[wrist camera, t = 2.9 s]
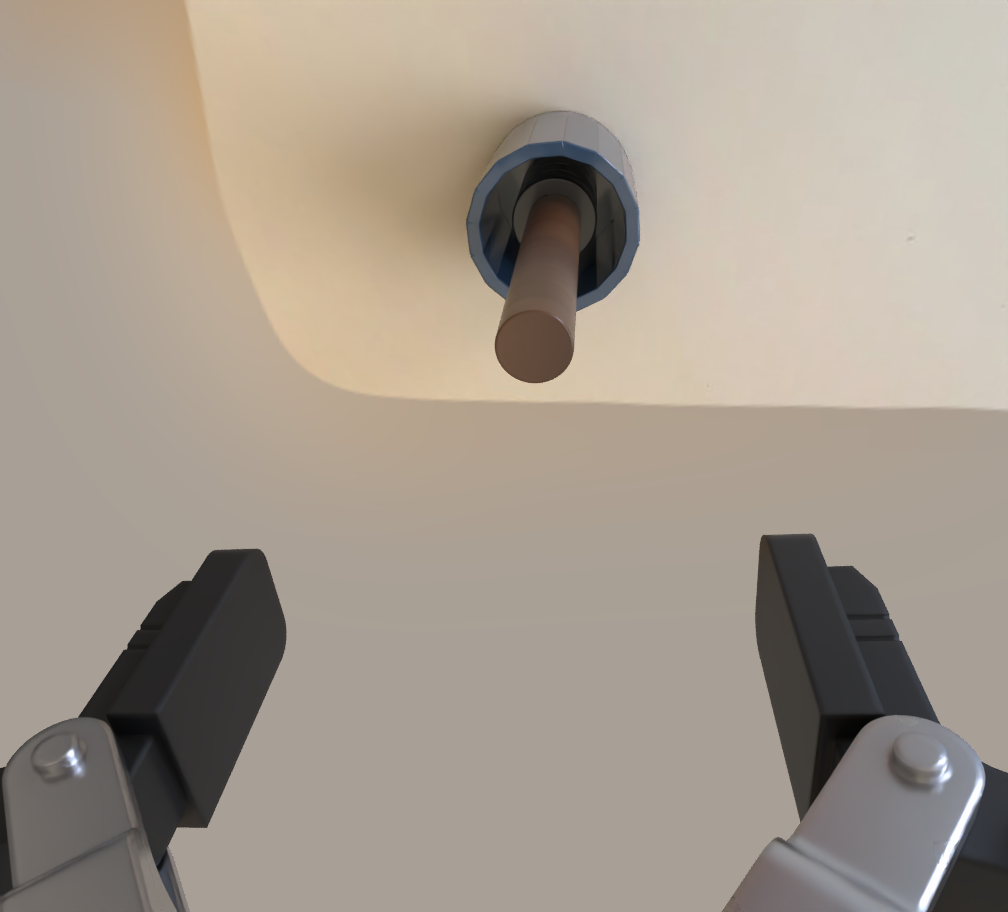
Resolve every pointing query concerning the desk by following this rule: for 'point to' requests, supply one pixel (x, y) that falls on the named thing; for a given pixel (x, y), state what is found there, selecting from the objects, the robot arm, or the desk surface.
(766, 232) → the desk surface
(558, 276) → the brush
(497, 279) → the brush cup
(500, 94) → the desk surface
